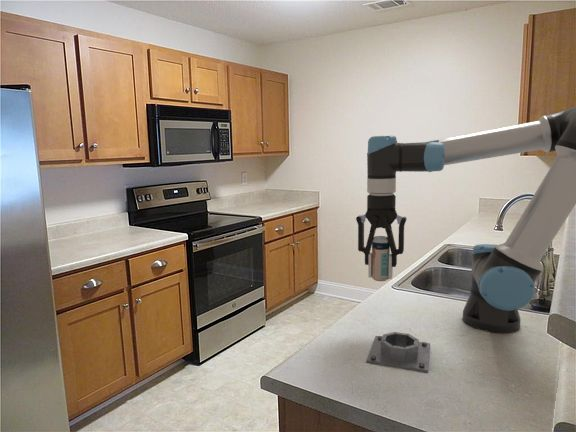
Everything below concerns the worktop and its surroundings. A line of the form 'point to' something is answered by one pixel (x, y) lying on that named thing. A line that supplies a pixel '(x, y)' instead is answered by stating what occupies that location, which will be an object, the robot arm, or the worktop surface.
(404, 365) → the duct flange
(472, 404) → the worktop surface
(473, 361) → the worktop surface
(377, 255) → the beer can
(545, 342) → the worktop surface
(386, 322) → the worktop surface
